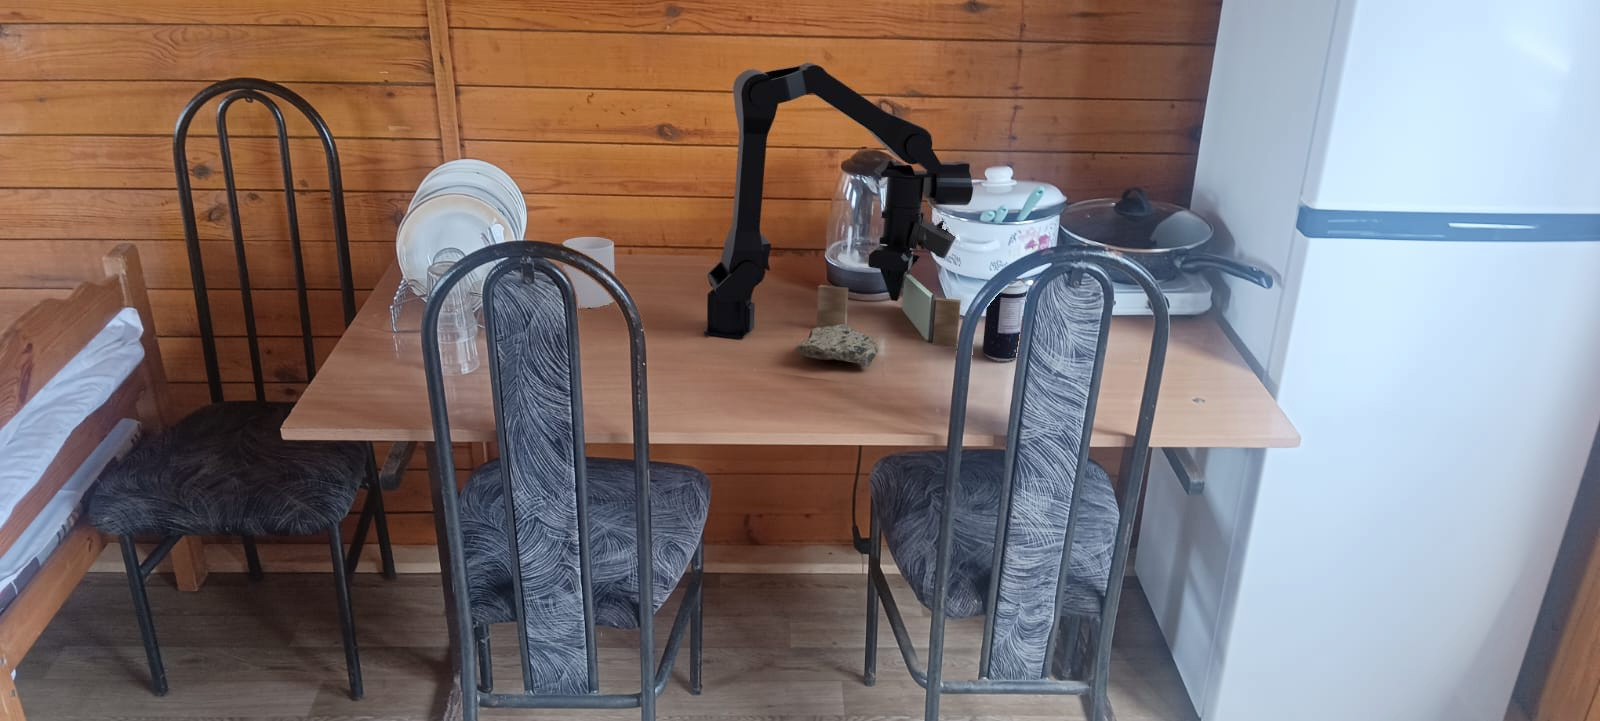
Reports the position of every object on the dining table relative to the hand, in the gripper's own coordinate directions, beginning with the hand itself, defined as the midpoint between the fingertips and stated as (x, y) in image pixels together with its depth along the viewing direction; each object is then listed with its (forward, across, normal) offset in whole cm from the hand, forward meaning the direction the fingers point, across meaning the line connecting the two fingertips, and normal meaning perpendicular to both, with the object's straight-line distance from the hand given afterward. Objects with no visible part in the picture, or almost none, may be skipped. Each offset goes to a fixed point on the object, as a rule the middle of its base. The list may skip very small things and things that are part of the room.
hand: (894, 300), depth 185 cm
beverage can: (+4, -10, -18) cm, 21 cm away
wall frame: (+4, -8, -8) cm, 12 cm away
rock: (+6, -21, 0) cm, 22 cm away
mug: (+6, -6, +50) cm, 51 cm away
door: (+4, -8, -8) cm, 12 cm away
